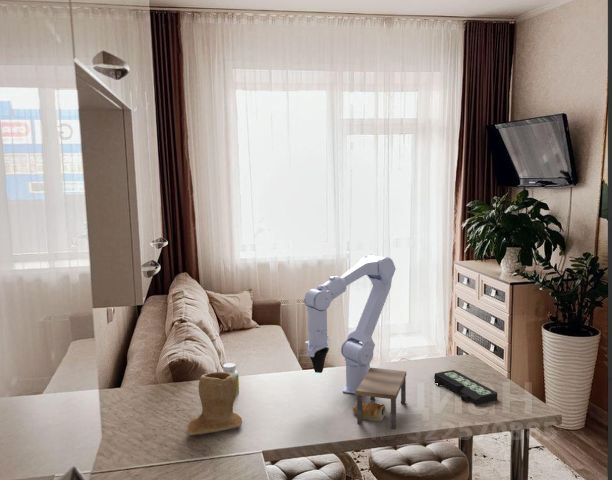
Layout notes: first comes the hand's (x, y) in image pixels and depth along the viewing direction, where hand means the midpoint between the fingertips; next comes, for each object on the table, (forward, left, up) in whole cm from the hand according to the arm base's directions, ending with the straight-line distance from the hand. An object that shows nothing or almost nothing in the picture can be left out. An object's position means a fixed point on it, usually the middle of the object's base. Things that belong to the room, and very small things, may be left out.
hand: (318, 371), depth 158 cm
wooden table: (+2, +20, -9) cm, 22 cm away
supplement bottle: (+3, -29, -10) cm, 31 cm away
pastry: (+5, +17, -10) cm, 20 cm away
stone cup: (+24, -23, -10) cm, 35 cm away
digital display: (-21, +41, -10) cm, 47 cm away
